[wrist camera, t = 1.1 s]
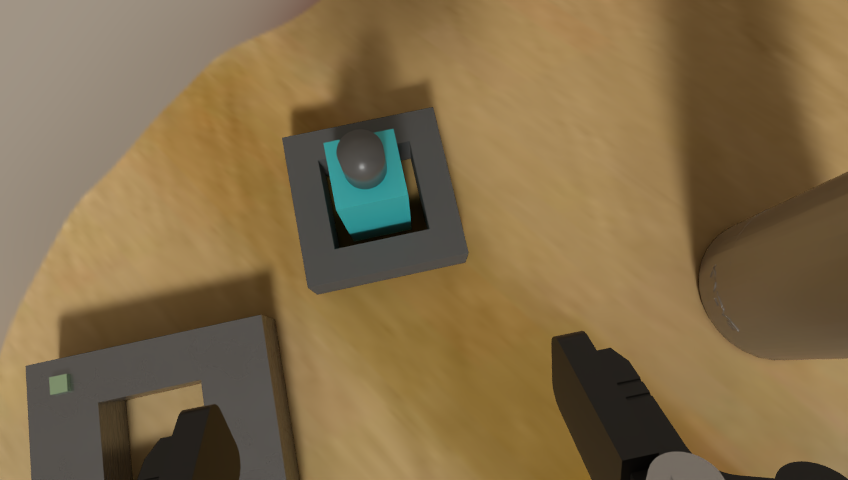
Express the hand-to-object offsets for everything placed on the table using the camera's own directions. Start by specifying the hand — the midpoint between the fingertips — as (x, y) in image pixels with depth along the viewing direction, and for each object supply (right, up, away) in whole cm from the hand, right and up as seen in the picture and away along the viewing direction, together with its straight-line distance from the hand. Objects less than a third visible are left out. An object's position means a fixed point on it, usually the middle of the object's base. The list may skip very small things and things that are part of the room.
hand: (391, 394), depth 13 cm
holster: (-2, +6, +25) cm, 25 cm away
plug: (-2, +6, +25) cm, 26 cm away
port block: (-15, -9, +21) cm, 27 cm away
